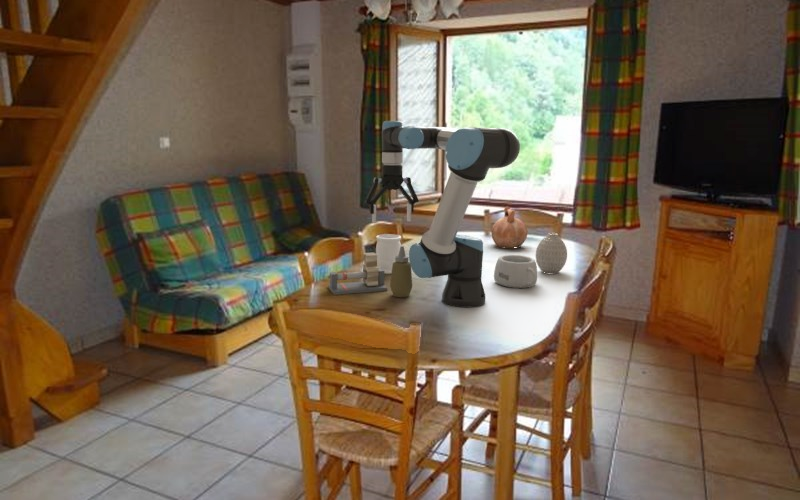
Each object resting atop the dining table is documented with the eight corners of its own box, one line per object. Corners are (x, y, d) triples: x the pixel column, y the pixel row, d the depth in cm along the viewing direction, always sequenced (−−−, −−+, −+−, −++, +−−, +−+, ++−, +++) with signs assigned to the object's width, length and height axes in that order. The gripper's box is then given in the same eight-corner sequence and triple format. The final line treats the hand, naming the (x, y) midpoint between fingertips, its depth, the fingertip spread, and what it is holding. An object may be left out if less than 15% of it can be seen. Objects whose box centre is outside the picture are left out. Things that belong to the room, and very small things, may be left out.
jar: (397, 275, 229) (398, 239, 226) (373, 273, 231) (373, 237, 228) (402, 269, 239) (403, 234, 236) (379, 267, 241) (379, 233, 238)
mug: (485, 279, 226) (486, 255, 224) (520, 276, 232) (521, 252, 230) (516, 294, 207) (518, 268, 205) (553, 290, 213) (555, 264, 211)
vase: (528, 272, 239) (531, 233, 235) (543, 266, 248) (546, 229, 245) (556, 278, 231) (559, 238, 227) (570, 272, 240) (574, 233, 236)
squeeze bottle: (404, 300, 197) (406, 250, 193) (385, 296, 202) (386, 247, 198) (416, 294, 204) (417, 246, 200) (397, 290, 208) (398, 243, 204)
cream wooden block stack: (378, 285, 208) (378, 255, 206) (367, 286, 207) (367, 256, 205) (372, 280, 215) (373, 251, 212) (362, 281, 213) (362, 252, 211)
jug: (530, 251, 279) (532, 211, 275) (493, 250, 279) (495, 210, 275) (522, 243, 297) (525, 205, 293) (488, 242, 297) (490, 204, 293)
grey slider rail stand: (387, 290, 208) (387, 273, 207) (333, 294, 202) (333, 277, 200) (379, 283, 217) (379, 266, 216) (327, 287, 211) (327, 270, 209)
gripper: (420, 163, 213) (419, 219, 217) (356, 163, 205) (356, 221, 210) (427, 164, 206) (426, 222, 210) (361, 165, 198) (361, 224, 203)
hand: (391, 221), depth 210 cm, fingers open, 13 cm apart
